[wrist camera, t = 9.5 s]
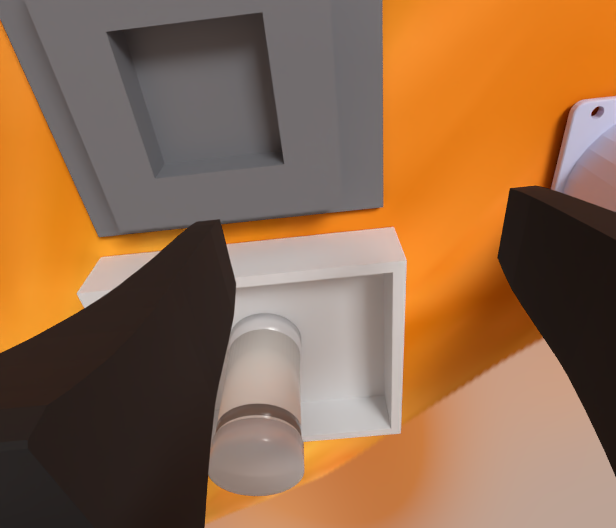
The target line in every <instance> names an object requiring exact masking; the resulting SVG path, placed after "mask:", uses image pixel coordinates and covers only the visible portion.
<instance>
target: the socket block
mask: <svg viewBox="0 0 616 528" xmlns="http://www.w3.org/2000/svg"><path fill="white" fill-rule="evenodd" d="M0 20H1V22H2V24H3V26H4V29H5V31H6V33H7V35H8V37H9V40H10V42H11V44H12V46H13V48H14V51H15V53H16V55H17V57H18V59H19V62H20V64H21V66H22V68H23V71H24V73H25V75H26V77H27V79H28V82H29V84H30V86H31V88H32V90H33V93H34V95H35V97H36V99H37V101H38V104H39V106H40V108H41V110H42V113H43V115H44V117H45V119H46V121H47V124H48V126H49V128H50V130H51V132H52V135H53V137H54V139H55V141H56V143H57V146H58V148H59V150H60V152H61V154H62V157H63V159H64V161H65V163H66V166H67V168H68V170H69V172H70V174H71V177H72V179H73V181H74V183H75V185H76V188H77V190H78V192H79V194H80V196H81V199H82V201H83V203H84V205H85V208H86V210H87V212H88V214H89V216H90V219H91V221H92V223H93V225H94V227H95V230H96V232H97V234H98V236H99V237H105V236H114V235H124V234H133V233H143V232H152V231H162V230H171V229H181V228H188V227H189V226H191V225H192V224H193V223H195V222H198V221H207V220H217V219H220V222H221V224H228V223H238V222H247V221H257V220H266V219H275V218H285V217H294V216H304V215H313V214H323V213H332V212H342V211H351V210H361V209H370V208H380V207H383V47H382V0H0Z"/></svg>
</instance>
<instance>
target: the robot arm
mask: <svg viewBox="0 0 616 528" xmlns="http://www.w3.org/2000/svg"><path fill="white" fill-rule="evenodd" d="M598 106H599V110H598V112H597V113H596V114H595V115H593V116H591V113H592V111H593V110H594V109H595V108H596V107H598ZM498 260H499V262H500V265H501V267H502V269H503V272H504V274H505V276H506V278H507V281H508V283H509V285H510V287H511V289H512V291H513V292H514V294H515V295H516V297H517V298H518V300H519V302H520V303H521V305H522V306H523V308H524V309H525V311H526V312H527V314H528V315H529V317H530V318H531V320H532V321H533V323H534V324H535V326H536V327H537V329H538V330H539V332H540V333H541V335H542V336H543V338H544V339H545V341H546V342H547V344H548V345H549V347H550V348H551V350H552V351H553V353H554V354H555V356H556V357H557V359H558V360H559V362H560V364H561V365H562V367H563V369H564V370H565V372H566V374H567V375H568V377H569V379H570V381H571V383H572V385H573V387H574V389H575V391H576V393H577V395H578V397H579V399H580V401H581V403H582V405H583V406H584V409H585V410H586V413H587V415H588V417H589V419H590V421H591V423H592V425H593V427H594V429H595V431H596V434H597V436H598V438H599V440H600V442H601V444H602V446H603V449H604V451H605V453H606V455H607V457H608V460H609V462H610V464H611V467H612V469H613V471H614V474H615V476H616V96H612V97H603V98H594V99H585V100H581V101H579V102H577V103H576V104H574V106H573V107H572V108H571V110H570V112H569V116H568V120H567V124H566V128H565V132H564V136H563V141H562V145H561V149H560V153H559V157H558V161H557V165H556V170H555V174H554V178H553V182H552V186H551V189H548V188H544V187H539V186H528V187H518V188H510V191H509V197H508V202H507V208H506V213H505V219H504V224H503V230H502V235H501V241H500V247H499V252H498ZM235 296H236V281H235V277H234V273H233V269H232V265H231V261H230V257H229V253H228V249H227V245H226V241H225V238H224V234H223V230H222V226H221V222H220V219H217V220H207V221H198V222H195V223H193V224H192V225H191V226H189V227H188V228H187V229H186V230H185V231H183V232H182V233H181V234H180V235H179V236H178V237H176V238H175V239H174V240H173V241H172V242H171V243H170V244H169V245H167V246H166V247H165V248H164V249H163V250H162V251H160V252H159V253H158V254H157V255H156V256H155V257H154V258H152V259H151V260H150V261H149V262H148V263H146V264H145V265H144V266H143V267H141V268H140V269H139V270H138V271H136V272H135V273H134V274H132V275H131V276H130V277H129V278H127V279H126V280H125V281H124V282H122V283H121V284H120V285H118V286H117V287H116V288H114V289H113V290H111V291H110V292H109V293H107V294H106V295H104V296H103V297H101V298H100V299H98V300H97V301H95V302H94V303H92V304H90V305H89V306H87V307H86V308H84V309H83V310H81V311H79V312H78V313H76V314H74V315H73V316H71V317H69V318H67V319H65V320H64V321H62V322H60V323H58V324H56V325H55V326H53V327H51V328H49V329H47V330H46V331H44V332H42V333H40V334H38V335H37V336H35V337H33V338H31V339H29V340H27V341H25V342H23V343H21V344H19V345H17V346H14V347H12V348H10V349H8V350H6V351H4V352H2V353H0V528H204V526H205V511H206V496H207V482H208V471H209V460H210V448H211V438H212V429H213V420H214V410H215V403H216V397H217V392H218V387H219V382H220V378H221V373H222V369H223V364H224V360H225V355H226V351H227V346H228V342H229V337H230V333H231V328H232V323H233V318H234V310H235Z"/></svg>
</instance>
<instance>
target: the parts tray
mask: <svg viewBox="0 0 616 528" xmlns="http://www.w3.org/2000/svg"><path fill="white" fill-rule="evenodd" d="M226 245H227V249H228V253H229V257H230V261H231V265H232V269H233V273H234V277H235V281H236V296H235V310H234V318H233V323H232V328H231V331H232V329H233V327H234V326H235V325H236V323H238V322H239V321H240V320H241V319H243V318H245V317H247V316H250V315H253V314H259V313H270V314H276V315H280V316H282V317H285V318H287V319H288V320H290V321H291V322H292V323H294V324H295V325H296V327H297V328H298V329H299V331H300V334H301V344H302V357H301V361H300V387H301V434H302V439H303V442H306V441H317V440H329V439H341V438H353V437H365V436H377V435H388V434H400V433H401V414H402V384H403V354H404V324H405V294H406V264H407V260H406V257H405V255H404V252H403V249H402V247H401V244H400V242H399V239H398V236H397V234H396V231H395V229H394V227H388V228H378V229H369V230H359V231H349V232H340V233H330V234H320V235H311V236H301V237H291V238H282V239H272V240H262V241H253V242H243V243H233V244H226ZM159 252H160V251H156V252H147V253H137V254H127V255H118V256H108V257H101V258H100V259H99V261H98V262H97V264H96V265H95V267H94V268H93V270H92V271H91V273H90V274H89V276H88V277H87V279H86V280H85V282H84V283H83V285H82V286H81V288H80V289H79V291H78V292H77V295H78V297H79V299H80V301H81V303H82V304H83V306H84V308H86V307H87V306H89V305H90V304H92V303H94V302H95V301H97V300H98V299H100V298H101V297H103V296H104V295H106V294H107V293H109V292H110V291H111V290H113V289H114V288H116V287H117V286H118V285H120V284H121V283H122V282H124V281H125V280H126V279H127V278H129V277H130V276H131V275H132V274H134V273H135V272H136V271H138V270H139V269H140V268H141V267H143V266H144V265H145V264H146V263H148V262H149V261H150V260H151V259H152V258H154V257H155V256H156V255H157V254H158V253H159ZM230 334H231V333H230ZM229 340H230V337H229ZM228 346H229V342H228ZM228 346H227V351H228ZM227 351H226V355H225V360H224V364H223V369H222V373H221V378H220V382H219V387H218V392H217V397H216V403H215V410H214V420H213V429H212V438H211V444H212V439H213V436H214V435H215V432H216V426H217V422H218V416H219V410H220V404H221V398H222V392H223V386H224V380H225V374H226V368H227V362H228V355H227ZM210 450H211V448H210Z"/></svg>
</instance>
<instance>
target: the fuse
mask: <svg viewBox="0 0 616 528" xmlns="http://www.w3.org/2000/svg"><path fill="white" fill-rule="evenodd" d="M227 355H228V362H227V368H226V374H225V380H224V386H223V392H222V398H221V404H220V410H219V416H218V422H217V426H216V432H215V435H214V436H213V439H212V444H211V450H210V460H209V471H208V475H209V477H210V479H211V480H212V481H213V482H214V483H215V484H216V485H218V486H219V487H221V488H223V489H225V490H227V491H229V492H233V493H236V494H241V495H248V496H266V495H272V494H277V493H281V492H283V491H286V490H288V489H290V488H292V487H294V486H295V485H296V484H297V483H298V482H299V481H300V480H301V479H302V477H303V474H304V444H303V439H302V434H301V387H300V361H301V357H302V344H301V334H300V331H299V329H298V328H297V327H296V325H295V324H294V323H292V322H291V321H290V320H288V319H287V318H285V317H282V316H280V315H276V314H270V313H259V314H253V315H250V316H247V317H245V318H243V319H241V320H240V321H239V322H238V323H236V325H235V326H234V327H233V329H232V331H231V334H230V340H229V346H228V351H227Z"/></svg>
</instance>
